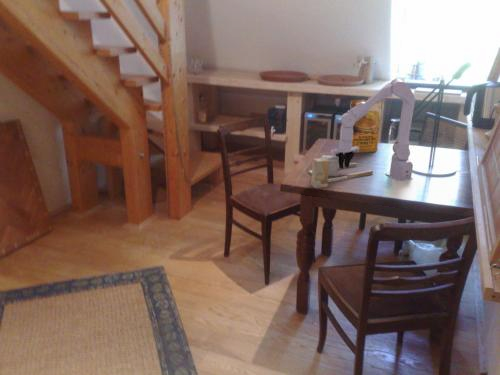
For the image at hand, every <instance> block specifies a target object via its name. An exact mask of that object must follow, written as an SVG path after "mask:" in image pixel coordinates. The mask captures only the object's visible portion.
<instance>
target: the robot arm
mask: <svg viewBox="0 0 500 375" xmlns="http://www.w3.org/2000/svg"><path fill="white" fill-rule="evenodd" d="M394 96H396V97H398V98H399V99H400V100H401V101H402V107H401V110H400V111H401V113H400V118H399V124H398V130H397V136H396V138H395V142H394V144H393V145H392V151H393V154H392V155H391V163H390V167H389V168H390V169H389V172H386V173H385V175H386V176H388V177H390V178H392V179H394V180H396V181H399V182H402V181H407V180H411V179H413V176H412V175H413V168H414V167H413V166H414V165H413V163H412V161H411V160H410V159H409V157H410V156H411V151H410V133H411V128H412V123H413V122H412V121H413V117H414V111H415V110H414V109H415V105H416V104H415V103H416V97H415V95H414V93H413V91H412V89H411V87H410V85H409V84H408V83H406V82H405V81H404V80H402V79H401V78H394V79H393V80H391V82H388V83H387V84H385V85H384V86H383V87H382V88H380V89H379V90H378V91H377V92H375V93H374V94H373V95H372V96H371V97H370V98H369V99H368V98H367V99H368V100H367V101H366V102H360V103H357V104H356V106H355V107H354V108H352V109H351V110H350V109H348V110H347V112H345V113H342V115H341V117H340V122H341V125H340V132H339V144H338V147H337V148H335V149H331V150H330V154H331V156H338V157H339V162H338V165H339V167H340V168H341V169H340V170H342V168H343V165H344V166H345V167H347V168H346V169H348V166H349V164H350V163H351V161H352V159H353V158H354V156H355V153H354V151H357V152H358V151H359V147H357V146H356V147H352V139H353V126H354V124H355V121H358V120H359V119H360V118H362V117H363V116H364V115H366V114H367V113H368V112H369V109H370V107H372V106H373V105H374V104H376V103H377V102H379V101H383V99H384V98H389V97H390V98H391V97H392V98H393V97H394ZM343 169H344V168H343Z"/></svg>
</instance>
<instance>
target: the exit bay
mask: <svg viewBox="0 0 500 375" xmlns="http://www.w3.org/2000/svg"><path fill="white" fill-rule="evenodd" d="M308 173H309V174H310V175H312V169H311V170H308ZM347 179H348V178H347V176H346V175H344V176H339V177H338V176H337V177H332V178H328V183H330V182H336V181H342V180H347Z"/></svg>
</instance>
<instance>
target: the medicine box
mask: <svg viewBox="0 0 500 375" xmlns="http://www.w3.org/2000/svg"><path fill="white" fill-rule="evenodd" d="M320 158H327V159H328V160H329V161H330V163H329V174H328V177H335V178H337V177H338V173H339V169H338V165H339V163H338V162H339V157H338V156H336V155H326V154H325V155H324V154H323V155H321V157H320Z"/></svg>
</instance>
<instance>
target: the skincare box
mask: <svg viewBox="0 0 500 375" xmlns="http://www.w3.org/2000/svg"><path fill="white" fill-rule="evenodd" d="M329 163H330V161H329V160H328V159H327V158H321V157H319V158H318V157H317V158H312V168H311V170H312V174H311V180H310V185H311V186H312V187H313V188H314V189H319V188H328V183H329V182H328V179H329V176H328V174H329Z"/></svg>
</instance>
